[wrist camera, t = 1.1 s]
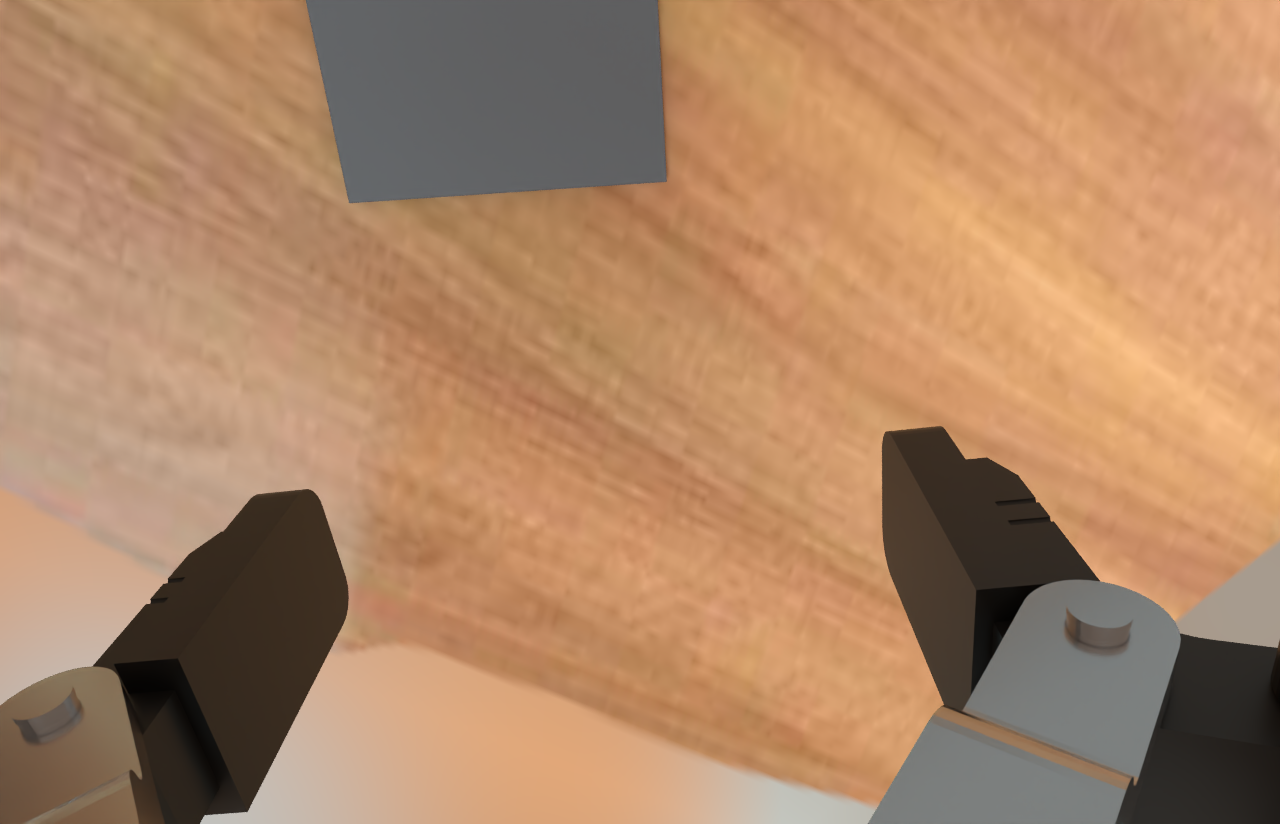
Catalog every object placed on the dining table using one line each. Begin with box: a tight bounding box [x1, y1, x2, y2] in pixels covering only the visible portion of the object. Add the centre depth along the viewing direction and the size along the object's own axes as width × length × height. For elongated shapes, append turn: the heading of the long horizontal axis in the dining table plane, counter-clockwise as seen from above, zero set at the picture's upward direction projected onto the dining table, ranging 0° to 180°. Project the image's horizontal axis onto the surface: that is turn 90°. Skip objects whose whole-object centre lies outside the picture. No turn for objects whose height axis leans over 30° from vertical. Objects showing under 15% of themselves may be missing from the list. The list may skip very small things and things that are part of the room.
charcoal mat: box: [306, 0, 667, 203], centre depth 30 cm, size 12×9×1 cm
